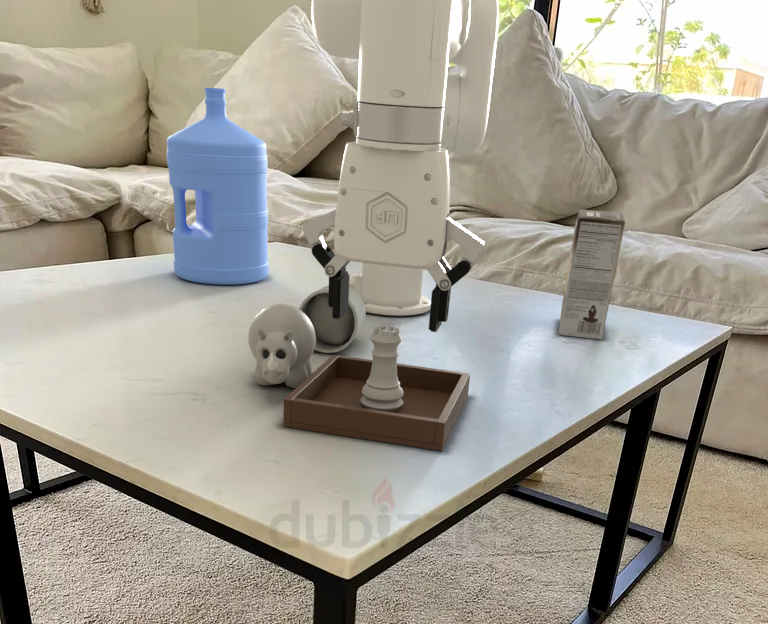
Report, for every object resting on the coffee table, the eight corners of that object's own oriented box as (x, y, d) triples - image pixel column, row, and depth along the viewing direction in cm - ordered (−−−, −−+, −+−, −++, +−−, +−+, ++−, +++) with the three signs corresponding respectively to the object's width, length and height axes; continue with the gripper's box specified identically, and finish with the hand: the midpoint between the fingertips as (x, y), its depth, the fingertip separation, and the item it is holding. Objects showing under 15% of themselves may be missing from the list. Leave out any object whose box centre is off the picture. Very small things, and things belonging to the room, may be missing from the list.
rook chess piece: (358, 397, 82) (362, 321, 78) (401, 398, 82) (406, 323, 79) (361, 412, 78) (365, 333, 74) (405, 413, 78) (411, 335, 75)
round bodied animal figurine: (234, 406, 79) (231, 322, 75) (256, 369, 90) (254, 294, 86) (304, 411, 79) (305, 328, 75) (318, 374, 90) (320, 299, 86)
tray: (283, 426, 75) (283, 399, 74) (332, 378, 89) (332, 354, 87) (441, 451, 72) (444, 423, 71) (467, 397, 86) (470, 373, 84)
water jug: (254, 265, 141) (251, 90, 128) (280, 284, 129) (279, 92, 116) (166, 267, 135) (153, 83, 122) (184, 287, 123) (172, 85, 110)
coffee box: (558, 320, 119) (577, 208, 112) (601, 324, 118) (623, 212, 111) (558, 335, 111) (578, 216, 104) (603, 340, 110) (627, 220, 103)
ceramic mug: (367, 339, 103) (369, 279, 100) (356, 356, 96) (358, 293, 93) (289, 332, 105) (288, 273, 101) (272, 349, 97) (271, 286, 94)
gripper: (291, 122, 67) (290, 320, 75) (491, 139, 63) (468, 344, 72) (318, 119, 73) (315, 301, 81) (502, 134, 70) (479, 323, 78)
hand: (387, 321), depth 77 cm, fingers open, 9 cm apart
